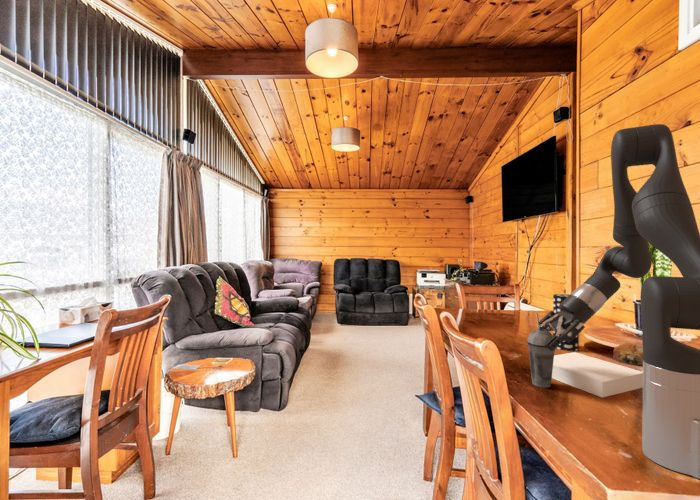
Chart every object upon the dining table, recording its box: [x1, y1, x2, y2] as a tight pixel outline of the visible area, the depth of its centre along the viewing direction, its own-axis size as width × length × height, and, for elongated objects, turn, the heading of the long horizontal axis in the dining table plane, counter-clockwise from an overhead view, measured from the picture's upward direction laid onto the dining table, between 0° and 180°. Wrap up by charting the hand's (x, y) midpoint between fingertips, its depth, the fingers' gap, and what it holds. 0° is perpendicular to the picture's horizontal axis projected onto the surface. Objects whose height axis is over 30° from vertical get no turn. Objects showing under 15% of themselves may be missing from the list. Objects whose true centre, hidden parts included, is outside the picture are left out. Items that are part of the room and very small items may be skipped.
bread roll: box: [612, 342, 643, 366], centre depth 117 cm, size 10×10×8 cm
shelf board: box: [552, 351, 643, 399], centre depth 101 cm, size 20×18×4 cm
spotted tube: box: [552, 293, 580, 352], centre depth 133 cm, size 8×8×20 cm
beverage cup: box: [526, 313, 557, 389], centre depth 97 cm, size 7×7×20 cm
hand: (540, 343), depth 97 cm, fingers open, 8 cm apart
